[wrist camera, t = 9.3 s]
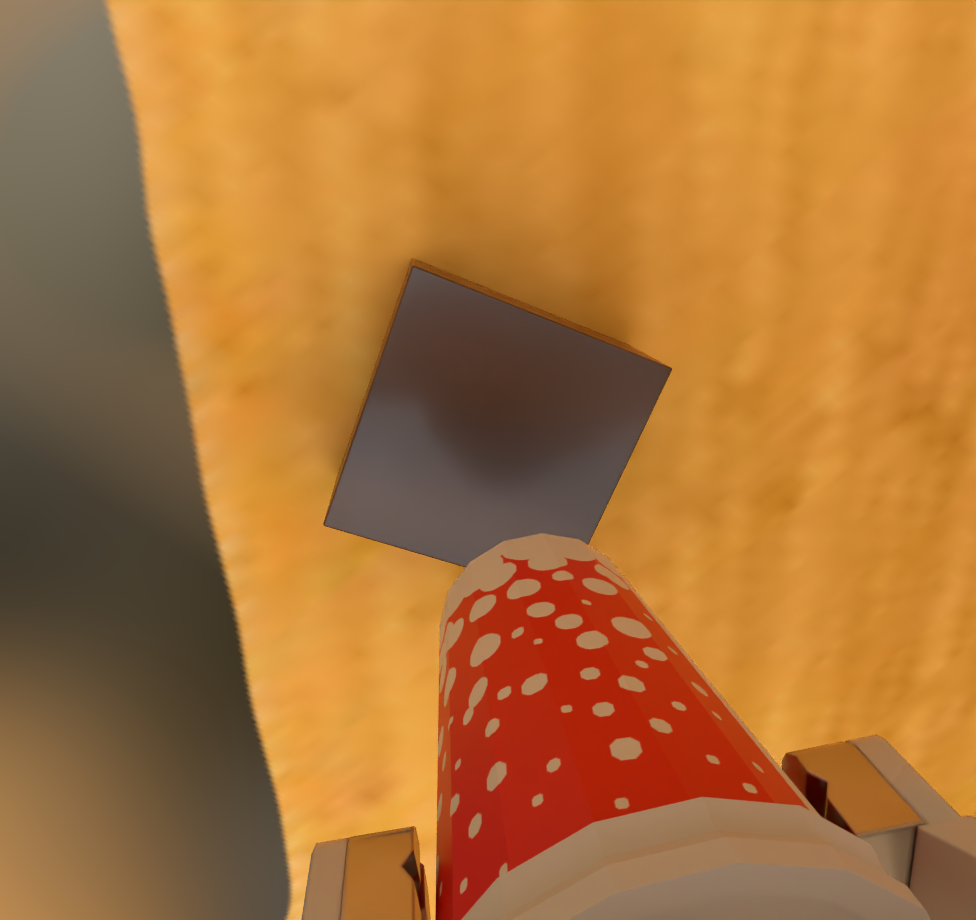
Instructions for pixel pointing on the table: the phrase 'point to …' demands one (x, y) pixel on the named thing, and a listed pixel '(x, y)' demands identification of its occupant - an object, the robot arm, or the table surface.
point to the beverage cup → (614, 767)
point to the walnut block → (488, 423)
